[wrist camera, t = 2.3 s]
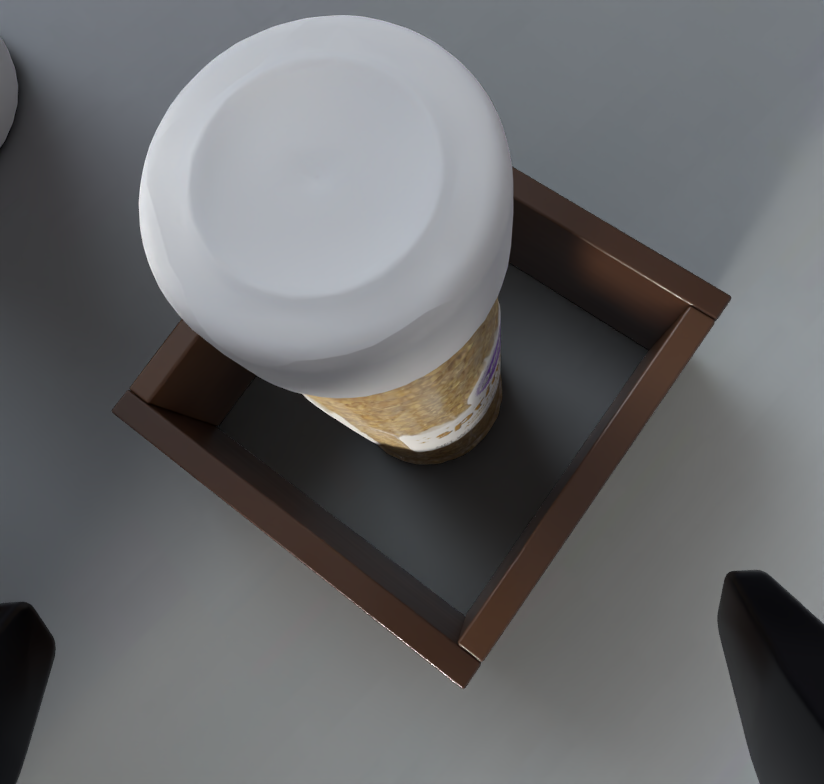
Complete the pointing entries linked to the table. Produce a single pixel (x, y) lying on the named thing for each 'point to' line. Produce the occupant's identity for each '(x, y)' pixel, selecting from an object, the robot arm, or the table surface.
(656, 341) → the crate
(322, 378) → the sprinkles bottle
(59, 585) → the table surface
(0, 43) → the milk bottle
